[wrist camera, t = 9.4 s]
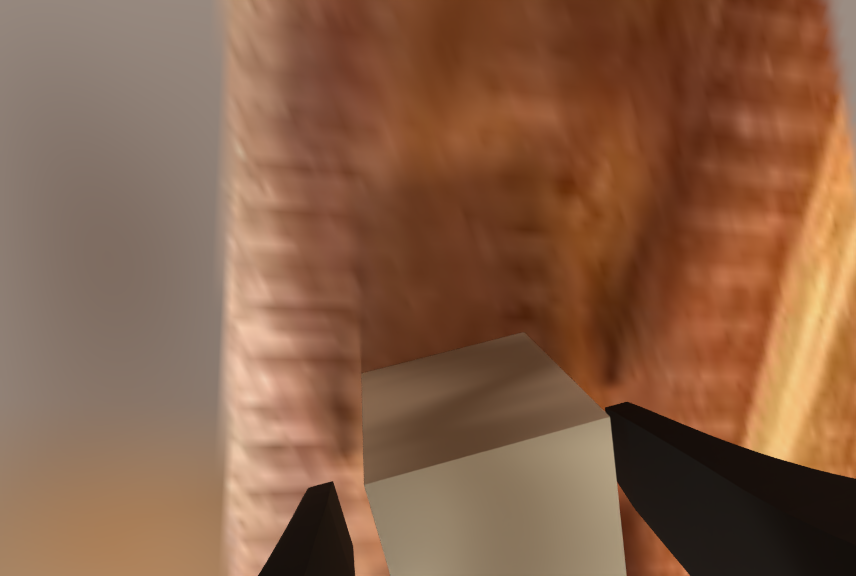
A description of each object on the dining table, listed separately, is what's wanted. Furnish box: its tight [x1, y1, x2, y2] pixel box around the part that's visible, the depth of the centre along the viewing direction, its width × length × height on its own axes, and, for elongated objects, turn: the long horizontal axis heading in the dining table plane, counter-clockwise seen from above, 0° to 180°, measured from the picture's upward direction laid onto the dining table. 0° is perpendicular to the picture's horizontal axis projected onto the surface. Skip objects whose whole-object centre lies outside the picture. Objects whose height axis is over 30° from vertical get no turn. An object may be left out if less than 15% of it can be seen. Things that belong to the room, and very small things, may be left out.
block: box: [361, 332, 627, 576], centre depth 11 cm, size 4×4×4 cm
